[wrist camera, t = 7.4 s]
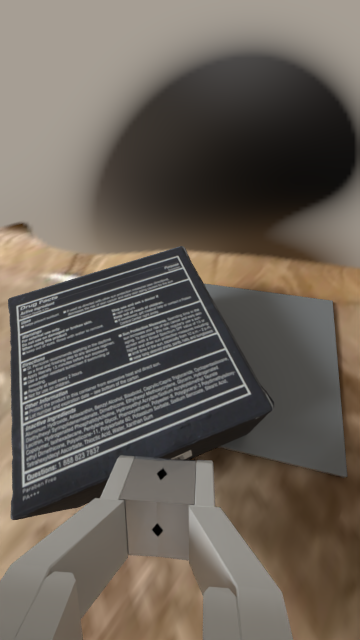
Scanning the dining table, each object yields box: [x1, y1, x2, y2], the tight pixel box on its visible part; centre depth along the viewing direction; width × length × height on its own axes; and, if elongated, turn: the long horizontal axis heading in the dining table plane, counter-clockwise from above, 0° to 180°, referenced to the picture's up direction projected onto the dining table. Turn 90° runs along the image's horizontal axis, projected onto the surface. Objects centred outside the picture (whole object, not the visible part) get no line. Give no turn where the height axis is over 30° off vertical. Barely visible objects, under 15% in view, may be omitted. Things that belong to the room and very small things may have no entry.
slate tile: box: [204, 284, 347, 478], centre depth 19 cm, size 12×18×1 cm, turn 77°
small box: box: [8, 246, 274, 520], centre depth 15 cm, size 11×6×10 cm
